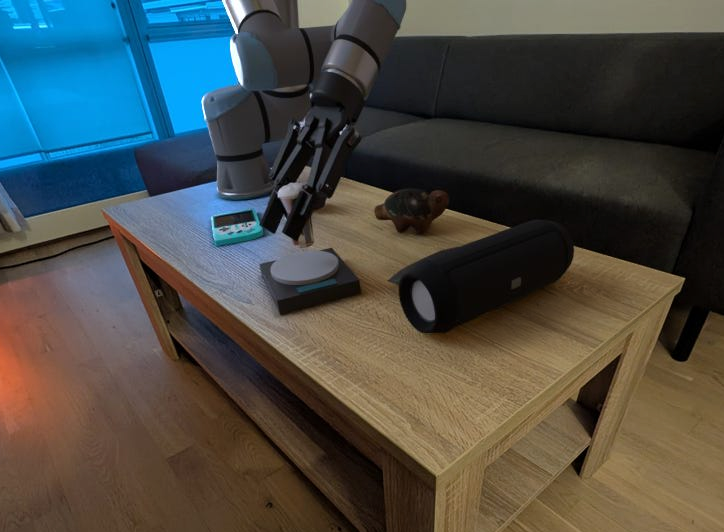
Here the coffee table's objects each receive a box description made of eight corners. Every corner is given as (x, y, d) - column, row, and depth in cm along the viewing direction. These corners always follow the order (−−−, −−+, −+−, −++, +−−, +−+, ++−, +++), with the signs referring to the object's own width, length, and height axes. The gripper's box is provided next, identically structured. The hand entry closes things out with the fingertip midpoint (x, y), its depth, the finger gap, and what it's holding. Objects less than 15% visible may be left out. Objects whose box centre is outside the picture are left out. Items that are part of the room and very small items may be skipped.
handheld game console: (214, 246, 89) (212, 240, 88) (211, 220, 101) (209, 214, 100) (264, 237, 91) (263, 231, 90) (255, 213, 103) (254, 207, 102)
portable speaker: (440, 353, 57) (442, 283, 51) (395, 320, 63) (392, 255, 57) (571, 290, 67) (586, 225, 61) (521, 267, 74) (530, 207, 68)
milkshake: (285, 241, 72) (270, 176, 66) (318, 237, 72) (306, 172, 66) (283, 252, 68) (267, 185, 62) (318, 248, 68) (305, 180, 62)
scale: (262, 277, 77) (257, 259, 75) (333, 260, 80) (331, 243, 78) (280, 315, 67) (275, 295, 65) (361, 294, 70) (359, 275, 68)
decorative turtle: (447, 239, 85) (445, 197, 80) (371, 241, 89) (364, 201, 84) (453, 218, 92) (452, 178, 87) (382, 220, 96) (377, 182, 91)
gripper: (401, 108, 64) (334, 257, 64) (318, 102, 73) (260, 232, 74) (374, 68, 57) (300, 234, 58) (287, 67, 67) (224, 210, 68)
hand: (278, 232), depth 66 cm, fingers closed on milkshake, 5 cm apart
